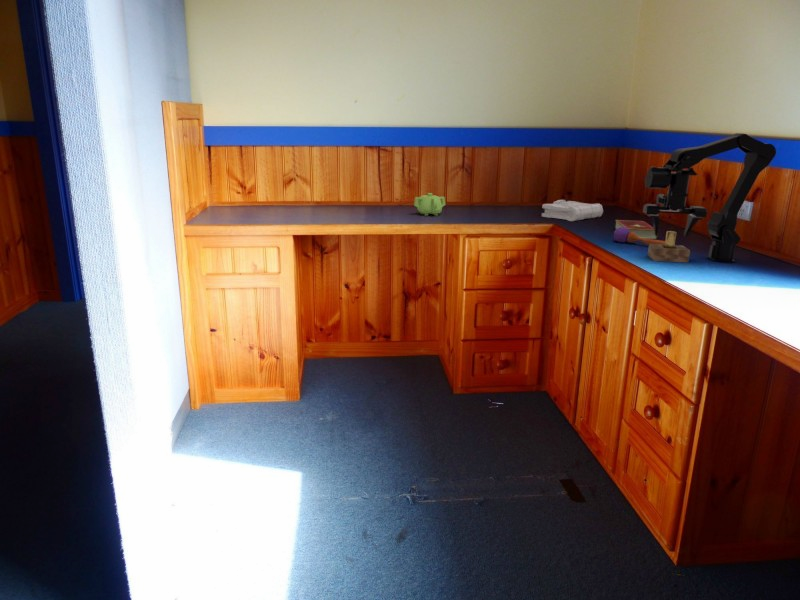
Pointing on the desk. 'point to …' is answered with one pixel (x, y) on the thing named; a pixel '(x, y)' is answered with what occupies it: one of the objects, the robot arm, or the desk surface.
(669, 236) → the brass pin
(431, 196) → the teapot
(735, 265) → the desk surface
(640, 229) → the hardcover book
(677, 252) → the bore block
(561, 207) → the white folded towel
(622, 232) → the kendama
